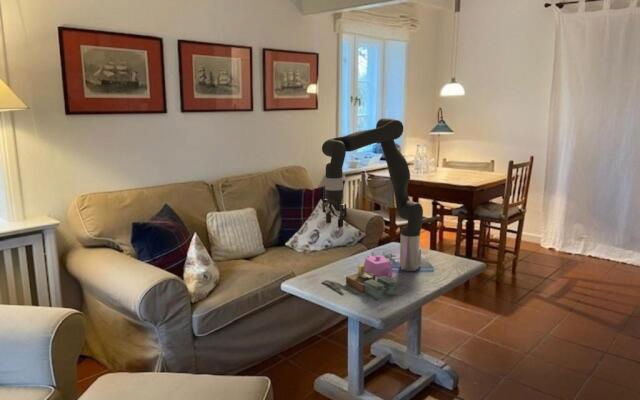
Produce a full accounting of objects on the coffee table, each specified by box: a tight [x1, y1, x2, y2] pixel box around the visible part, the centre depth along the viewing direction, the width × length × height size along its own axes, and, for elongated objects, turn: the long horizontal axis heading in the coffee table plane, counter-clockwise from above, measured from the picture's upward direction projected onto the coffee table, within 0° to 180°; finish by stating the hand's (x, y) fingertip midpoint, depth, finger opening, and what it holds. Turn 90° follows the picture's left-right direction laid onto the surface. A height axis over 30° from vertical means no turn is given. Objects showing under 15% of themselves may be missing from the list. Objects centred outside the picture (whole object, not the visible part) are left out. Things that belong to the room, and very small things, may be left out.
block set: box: [345, 271, 398, 302], centre depth 213 cm, size 11×21×6 cm, turn 34°
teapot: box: [363, 254, 393, 279], centre depth 227 cm, size 18×10×10 cm, turn 24°
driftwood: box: [322, 279, 358, 296], centre depth 216 cm, size 21×7×2 cm, turn 31°
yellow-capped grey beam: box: [357, 264, 374, 280], centre depth 215 cm, size 2×8×5 cm, turn 34°
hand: (334, 225), depth 208 cm, fingers open, 8 cm apart
